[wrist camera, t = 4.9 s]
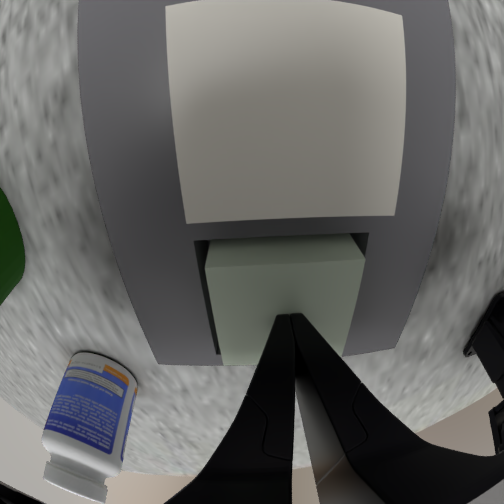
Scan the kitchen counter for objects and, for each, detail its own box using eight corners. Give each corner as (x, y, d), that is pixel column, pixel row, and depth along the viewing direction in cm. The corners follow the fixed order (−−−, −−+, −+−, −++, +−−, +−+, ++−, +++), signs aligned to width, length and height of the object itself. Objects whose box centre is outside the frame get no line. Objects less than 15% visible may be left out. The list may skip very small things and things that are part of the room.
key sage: (342, 222, 10) (365, 258, 8) (328, 315, 12) (341, 357, 10) (213, 228, 10) (204, 267, 8) (226, 322, 12) (223, 365, 10)
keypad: (388, -78, 3) (414, -99, 1) (377, 311, 14) (394, 347, 11) (122, -77, 3) (98, -101, 1) (168, 324, 14) (158, 364, 12)
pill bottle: (59, 348, 15) (13, 463, 7) (117, 350, 15) (76, 493, 7) (96, 390, 18) (68, 491, 10) (151, 395, 18) (131, 512, 10)
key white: (359, 32, 5) (402, 15, 3) (358, 182, 8) (394, 215, 6) (189, 31, 5) (165, 6, 3) (202, 187, 8) (186, 223, 6)
